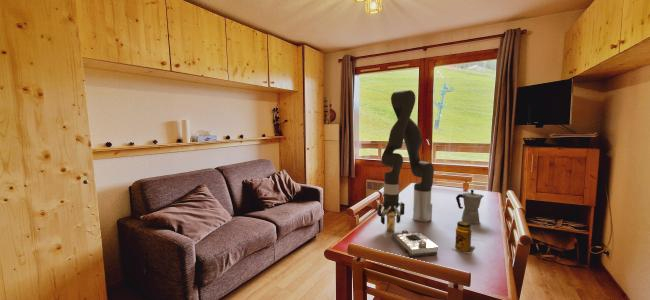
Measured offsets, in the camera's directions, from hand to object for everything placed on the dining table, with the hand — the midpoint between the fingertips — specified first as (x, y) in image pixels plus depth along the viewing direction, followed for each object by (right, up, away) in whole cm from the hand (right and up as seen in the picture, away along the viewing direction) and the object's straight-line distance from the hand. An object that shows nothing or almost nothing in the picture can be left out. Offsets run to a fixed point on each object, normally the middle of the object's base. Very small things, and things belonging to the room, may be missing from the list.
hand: (390, 223), depth 140 cm
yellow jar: (+28, -6, -19) cm, 34 cm away
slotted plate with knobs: (+6, -6, -17) cm, 19 cm away
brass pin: (0, -4, 0) cm, 4 cm away
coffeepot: (+47, -3, +13) cm, 48 cm away
